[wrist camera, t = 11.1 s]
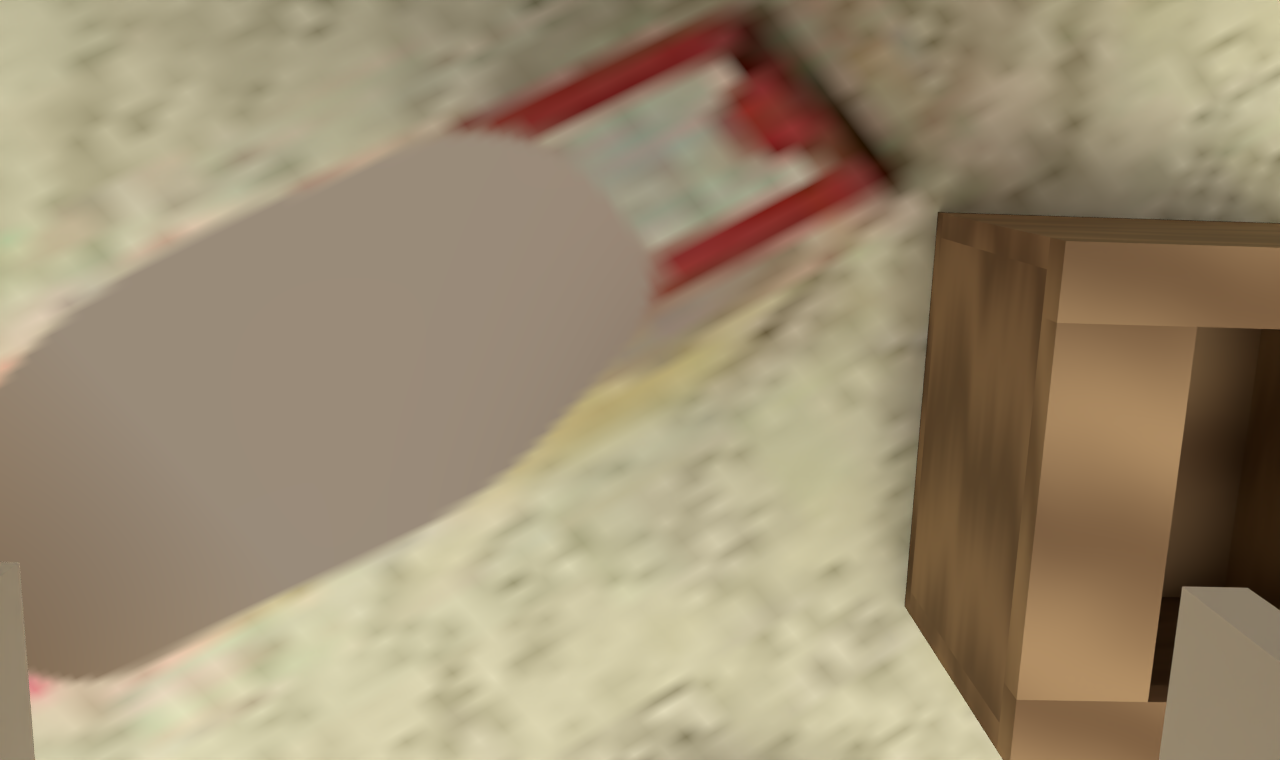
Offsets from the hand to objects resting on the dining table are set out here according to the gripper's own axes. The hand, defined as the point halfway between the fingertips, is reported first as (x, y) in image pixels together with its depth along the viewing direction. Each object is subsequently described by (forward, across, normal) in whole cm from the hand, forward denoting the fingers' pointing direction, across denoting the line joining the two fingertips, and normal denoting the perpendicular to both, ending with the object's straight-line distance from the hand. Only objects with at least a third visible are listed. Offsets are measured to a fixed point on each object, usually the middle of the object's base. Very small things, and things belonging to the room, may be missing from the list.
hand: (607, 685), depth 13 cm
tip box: (+27, +17, -3) cm, 32 cm away
